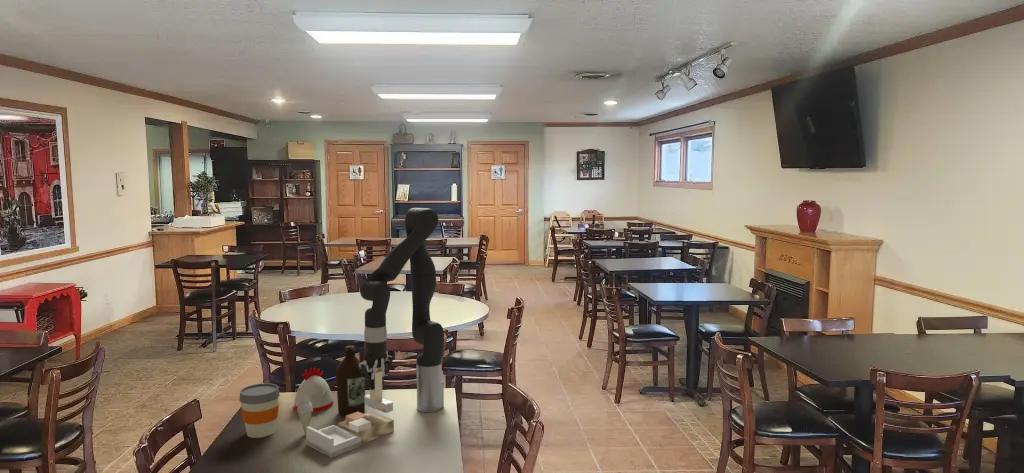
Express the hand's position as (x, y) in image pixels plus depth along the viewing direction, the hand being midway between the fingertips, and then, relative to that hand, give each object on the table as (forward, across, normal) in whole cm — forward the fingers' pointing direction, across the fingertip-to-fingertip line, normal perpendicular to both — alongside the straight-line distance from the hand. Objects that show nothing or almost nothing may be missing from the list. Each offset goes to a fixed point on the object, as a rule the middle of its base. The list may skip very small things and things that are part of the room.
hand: (376, 387), depth 209 cm
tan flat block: (+15, -4, 0) cm, 15 cm away
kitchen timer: (+15, -2, +35) cm, 38 cm away
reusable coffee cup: (+15, -27, +27) cm, 41 cm away
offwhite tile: (+11, -9, -3) cm, 14 cm away
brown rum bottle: (+15, +3, +18) cm, 24 cm away
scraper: (+7, +1, 0) cm, 7 cm away
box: (+15, -17, 0) cm, 22 cm away
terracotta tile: (+11, -6, +3) cm, 13 cm away
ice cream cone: (+15, -18, +14) cm, 28 cm away
